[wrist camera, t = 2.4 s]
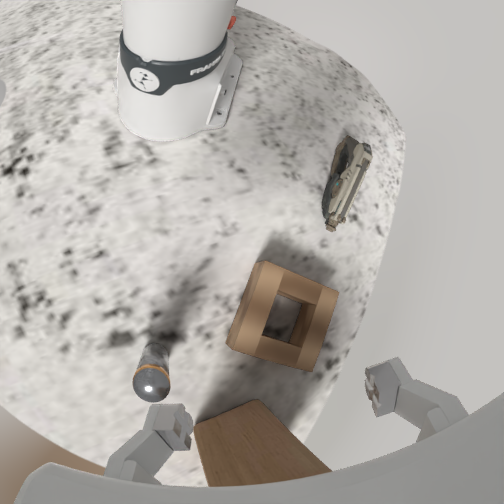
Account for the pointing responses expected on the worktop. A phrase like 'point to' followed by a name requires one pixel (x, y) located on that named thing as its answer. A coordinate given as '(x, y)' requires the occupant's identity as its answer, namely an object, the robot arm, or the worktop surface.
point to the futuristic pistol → (345, 180)
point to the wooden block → (252, 449)
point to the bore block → (258, 308)
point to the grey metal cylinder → (152, 374)
